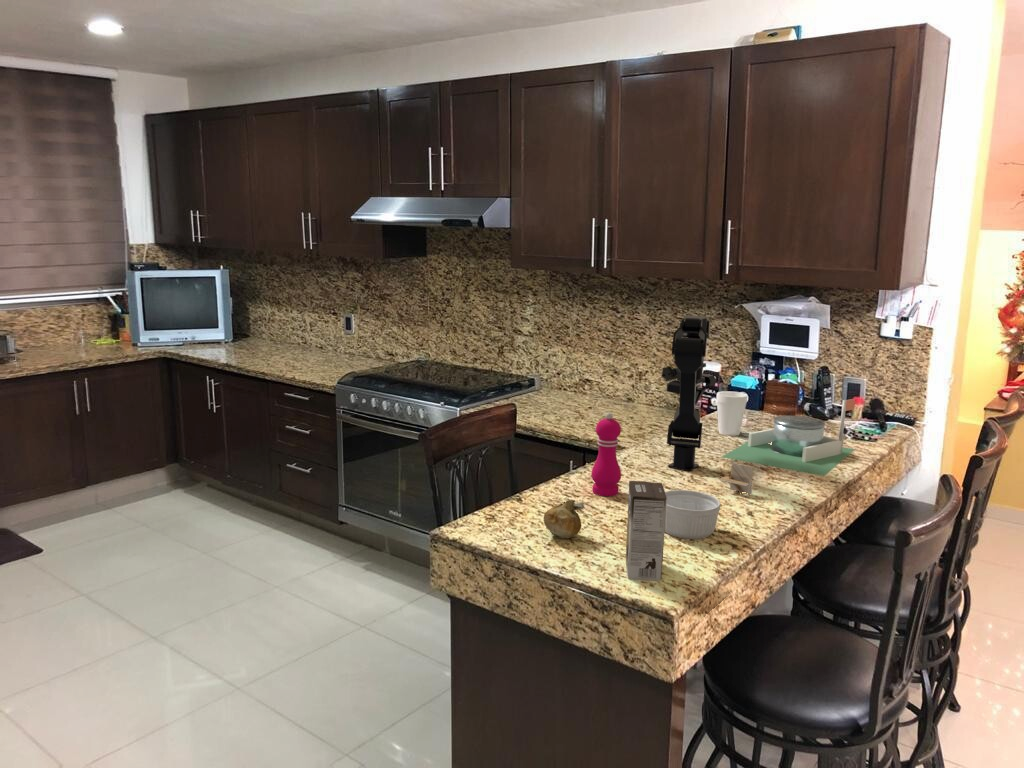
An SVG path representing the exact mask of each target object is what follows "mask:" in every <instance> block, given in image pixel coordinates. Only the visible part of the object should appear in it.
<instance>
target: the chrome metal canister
mask: <svg viewBox="0 0 1024 768" xmlns="http://www.w3.org/2000/svg"><path fill="white" fill-rule="evenodd" d="M825 426H826V423H825V422H824V421H823V420H821V419H818V418H813V417H809V416H801V415H780V416H779V415H777V416H775V417H774V418H773V428H772V429H773V441H772V449H773V450H774V451H776V452H778V453H781V454H785V455H790V456H798V457H802V455H803V448H804V447H809V446H813V445H818V444H823V436H825V435H824V433H825Z"/></svg>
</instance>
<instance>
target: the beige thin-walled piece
mask: <svg viewBox="0 0 1024 768" xmlns="http://www.w3.org/2000/svg"><path fill="white" fill-rule="evenodd" d="M855 404H856V398H850V399H842V406H841V415H840V423H839V424H840V425H839V434H838V438H835V437H830V436H826V435H823V444H818V445H813V446H809V447H804V448H803V455H802V462H808V461H812V460H817V459H821V458H826V457H830V456H834V455H839V454H842V447H844V446H843V444H844V439H843V438H844V430H845V429H844V428H845V419H846V412H848V411H854V410H855ZM773 429H774V428H770V429H764V430H759V431H753V432H749V433H748V439H747V442H748V446H750V447H752V446H757V445H762V444H767V443H771V442H772V441H773ZM770 449H771V450H772V451H774V450H773V449H772V446H771V447H770ZM774 452H776V451H774ZM777 453H778V452H777ZM780 454H781V453H780Z"/></svg>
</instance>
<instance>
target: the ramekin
mask: <svg viewBox="0 0 1024 768" xmlns="http://www.w3.org/2000/svg"><path fill="white" fill-rule="evenodd" d="M665 494H666V497H667V503H666V519H665V533H666V534H667V535H671V536H672V537H676V538H680V539H686V540H698V539H706V538H708V537H710V536H711V535H712V534H713V533H714V531H715V529H716V526H717V522H718V516H719V512H720V510H721V502H720V500H719V499H718V498H717V497H716V496H713V495H711V494H708V493H705V492H701V491H696V490H689V489H672V490H666V491H665Z"/></svg>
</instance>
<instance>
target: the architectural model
mask: <svg viewBox="0 0 1024 768" xmlns="http://www.w3.org/2000/svg"><path fill="white" fill-rule="evenodd" d="M730 466H731V469H730V470H731V471H730V472H729V475H728V476H727V475H726V476H723V477H721V478H720V481H723V482H728V483H730V484H729V490H730V489H731V490H730V491H734V490H736V491H735V492H738V491H739V492H738V493H739V494H740V493H741V494H740V495H743V494H742V492H746V493H745V494H747V493H748V494H747V496H748V495H750V494H753V482H754V481H753V477H754V474H753V473H754V466H749V465H745V464H741V463H736V462H732V463H731V465H730ZM750 496H751V495H750Z"/></svg>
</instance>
